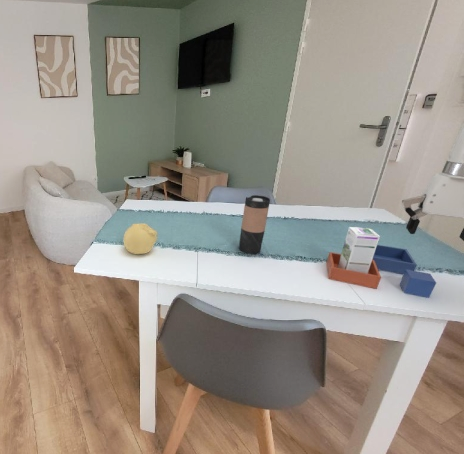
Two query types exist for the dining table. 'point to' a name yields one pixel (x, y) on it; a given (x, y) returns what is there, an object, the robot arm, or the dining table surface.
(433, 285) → the blue block
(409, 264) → the blue bin
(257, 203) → the travel mug
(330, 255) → the terracotta bin
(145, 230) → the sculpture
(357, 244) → the syrup box
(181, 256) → the dining table surface
